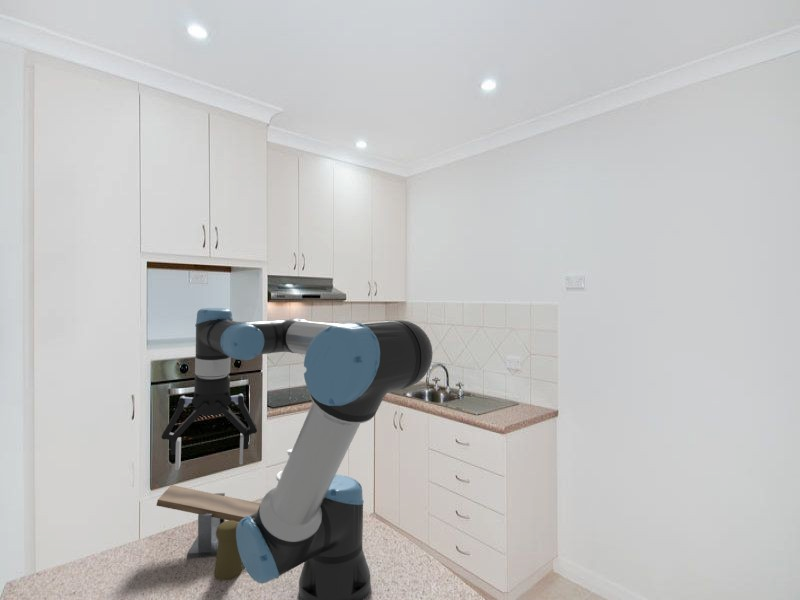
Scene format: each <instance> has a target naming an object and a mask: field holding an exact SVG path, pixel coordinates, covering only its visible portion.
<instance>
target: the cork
mask: <svg viewBox="0 0 800 600" xmlns="http://www.w3.org/2000/svg"><path fill="white" fill-rule="evenodd" d="M238 523H239V522H237V521H234V520H225V522H223V523H221V524H220V525H219V526H218V527H217V530H216V537H217V539H218V540H219V542H218V549H217V557H215V558H216V559H215V565H214V572H213V576H214V578H215V579H216V580H218V581H228V580H229V581H230V580H233V579H235V578H236V577H238V576H240V575H241V573H243V569H244V566H243V563H242V560H241V557H240V554H239V551H238V546H237V540H236V529H237V525H238Z"/></svg>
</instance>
